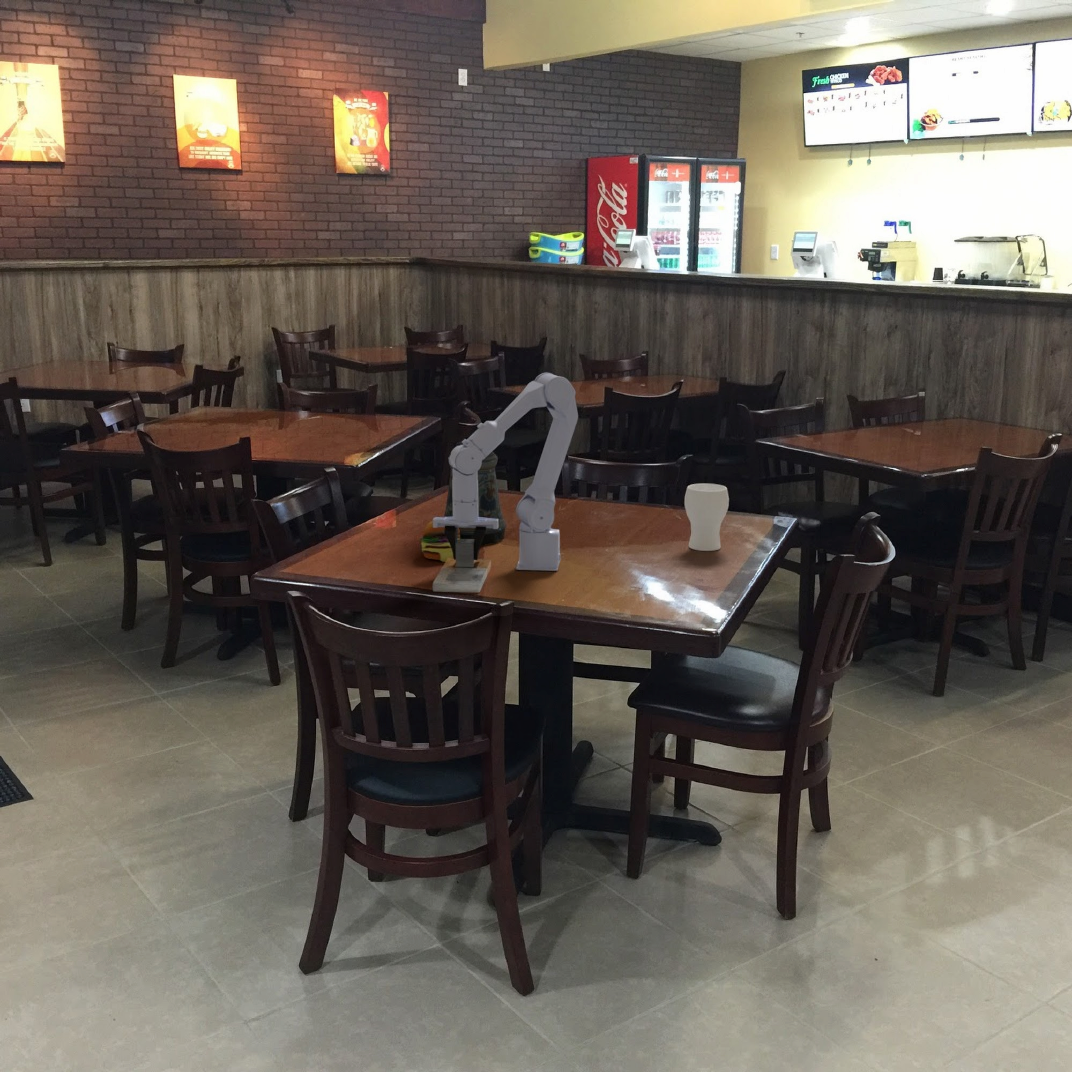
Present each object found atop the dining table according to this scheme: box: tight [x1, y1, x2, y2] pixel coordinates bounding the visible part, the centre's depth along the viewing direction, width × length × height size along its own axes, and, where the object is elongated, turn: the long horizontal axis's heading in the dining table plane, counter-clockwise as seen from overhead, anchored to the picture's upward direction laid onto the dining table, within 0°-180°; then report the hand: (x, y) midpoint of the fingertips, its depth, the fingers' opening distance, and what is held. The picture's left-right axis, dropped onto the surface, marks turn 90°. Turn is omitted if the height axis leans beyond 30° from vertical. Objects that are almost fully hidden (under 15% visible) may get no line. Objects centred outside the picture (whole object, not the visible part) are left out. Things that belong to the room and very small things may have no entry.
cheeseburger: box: [420, 520, 460, 563], centre depth 268 cm, size 10×11×10 cm
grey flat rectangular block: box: [432, 558, 492, 594], centre depth 250 cm, size 10×20×2 cm, turn 175°
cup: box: [684, 483, 730, 552], centre depth 275 cm, size 11×11×15 cm
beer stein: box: [443, 436, 507, 546], centre depth 284 cm, size 16×19×25 cm
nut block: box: [456, 539, 476, 568], centre depth 254 cm, size 4×4×6 cm
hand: (466, 558), depth 254 cm, fingers closed on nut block, 4 cm apart
